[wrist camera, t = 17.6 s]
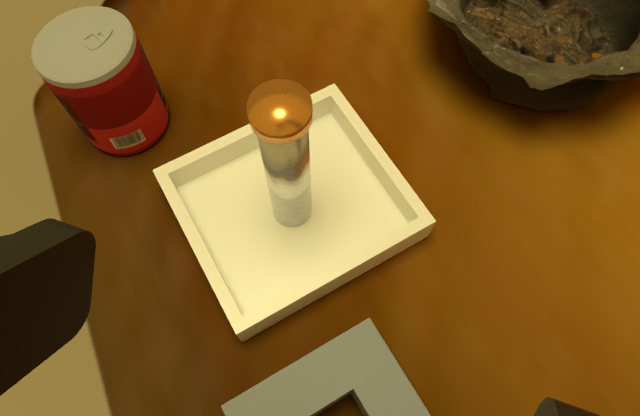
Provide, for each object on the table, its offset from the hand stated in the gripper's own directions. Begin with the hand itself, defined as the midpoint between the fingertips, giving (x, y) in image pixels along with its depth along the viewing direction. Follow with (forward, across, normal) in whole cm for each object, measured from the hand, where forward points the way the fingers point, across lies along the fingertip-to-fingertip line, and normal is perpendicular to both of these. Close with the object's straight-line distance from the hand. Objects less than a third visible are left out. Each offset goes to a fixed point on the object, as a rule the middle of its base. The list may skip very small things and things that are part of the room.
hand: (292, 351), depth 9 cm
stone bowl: (+54, -8, -7) cm, 55 cm away
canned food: (+37, +26, +10) cm, 46 cm away
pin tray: (+34, +8, +12) cm, 37 cm away
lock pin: (+34, +8, +12) cm, 36 cm away
